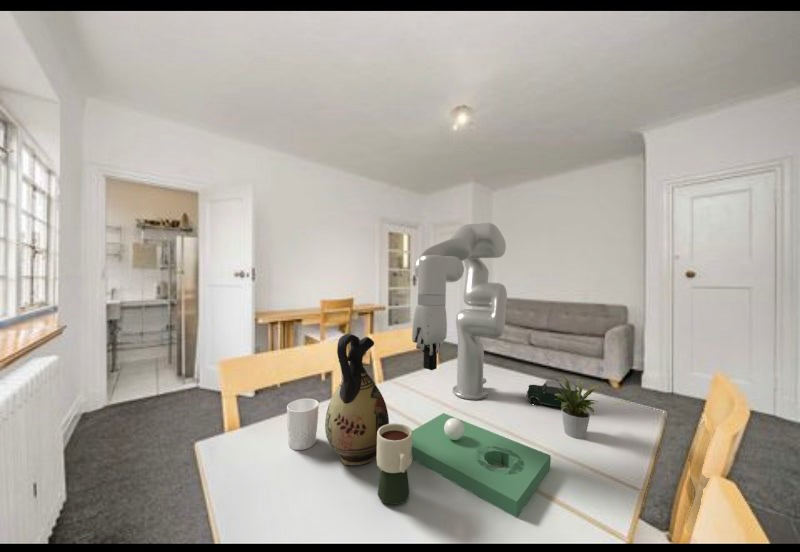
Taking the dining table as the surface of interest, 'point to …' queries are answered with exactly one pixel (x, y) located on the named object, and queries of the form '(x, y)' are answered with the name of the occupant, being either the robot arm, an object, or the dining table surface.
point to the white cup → (302, 423)
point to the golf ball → (454, 429)
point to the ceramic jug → (355, 406)
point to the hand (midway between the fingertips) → (429, 368)
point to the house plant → (575, 410)
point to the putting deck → (482, 462)
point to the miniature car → (548, 393)
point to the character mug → (394, 462)
